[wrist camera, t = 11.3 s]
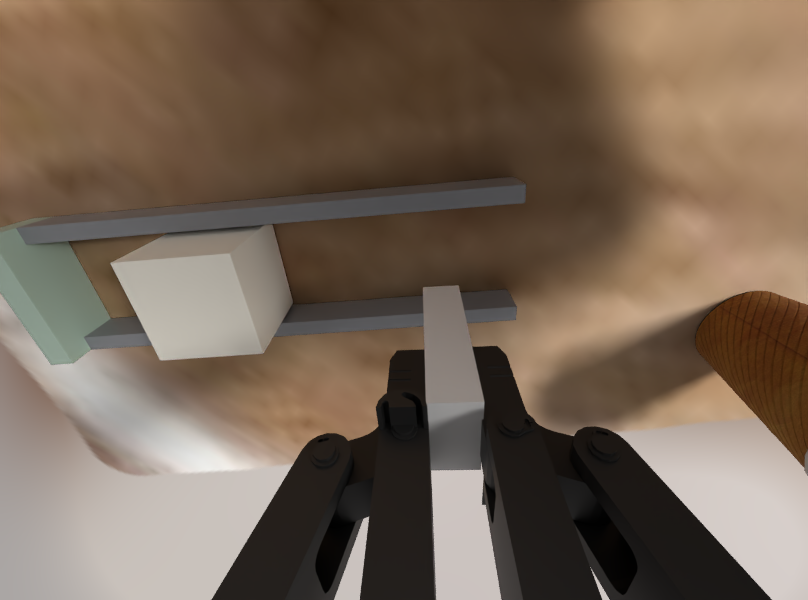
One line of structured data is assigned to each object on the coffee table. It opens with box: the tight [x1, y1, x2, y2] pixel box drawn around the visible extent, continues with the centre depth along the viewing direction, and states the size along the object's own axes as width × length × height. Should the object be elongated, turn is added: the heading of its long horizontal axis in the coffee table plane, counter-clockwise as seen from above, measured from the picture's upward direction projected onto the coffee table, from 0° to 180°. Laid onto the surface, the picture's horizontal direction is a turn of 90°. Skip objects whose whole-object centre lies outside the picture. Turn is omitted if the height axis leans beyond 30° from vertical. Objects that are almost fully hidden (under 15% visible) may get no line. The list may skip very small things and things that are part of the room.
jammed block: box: [110, 224, 293, 361], centre depth 21 cm, size 6×6×6 cm
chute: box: [0, 177, 526, 365], centre depth 22 cm, size 9×30×4 cm, turn 95°
